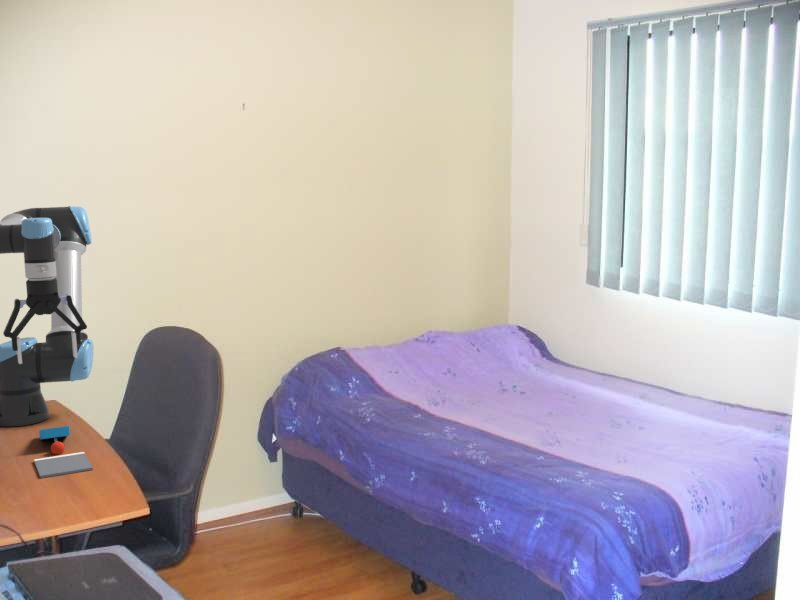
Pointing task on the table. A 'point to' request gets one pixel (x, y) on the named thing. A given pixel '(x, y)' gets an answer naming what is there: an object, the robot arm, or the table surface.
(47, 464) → the mat
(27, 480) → the table surface
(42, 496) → the table surface
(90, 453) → the table surface
